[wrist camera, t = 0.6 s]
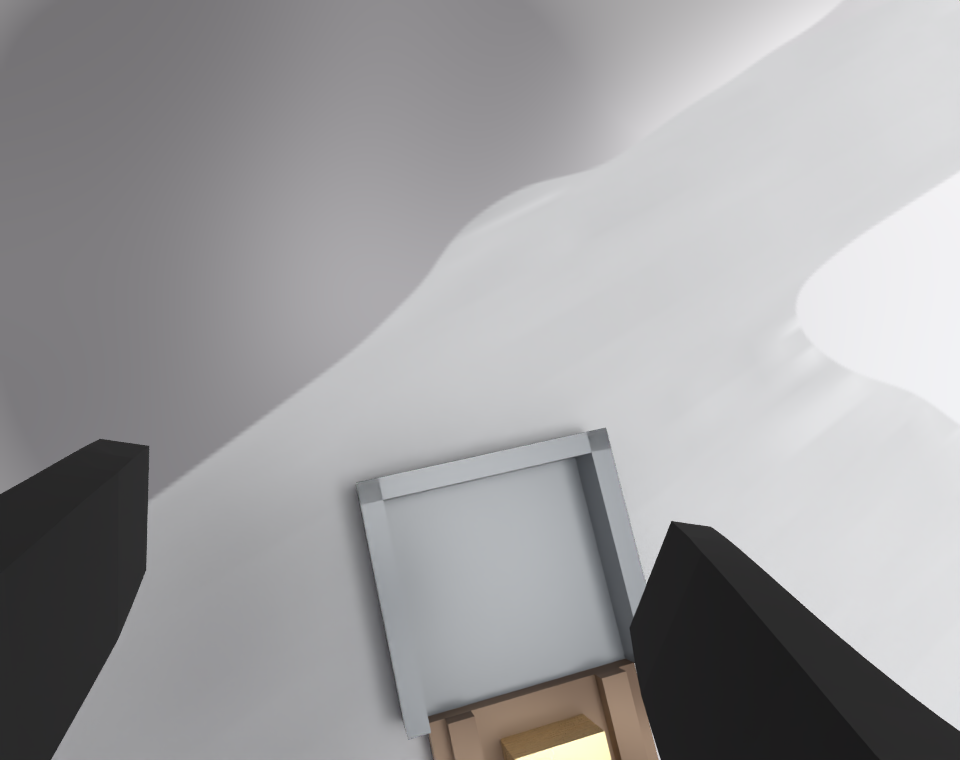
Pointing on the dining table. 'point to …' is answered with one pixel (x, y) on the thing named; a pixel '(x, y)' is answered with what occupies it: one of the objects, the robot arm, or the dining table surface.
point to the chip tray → (501, 571)
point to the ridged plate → (550, 715)
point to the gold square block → (559, 742)
